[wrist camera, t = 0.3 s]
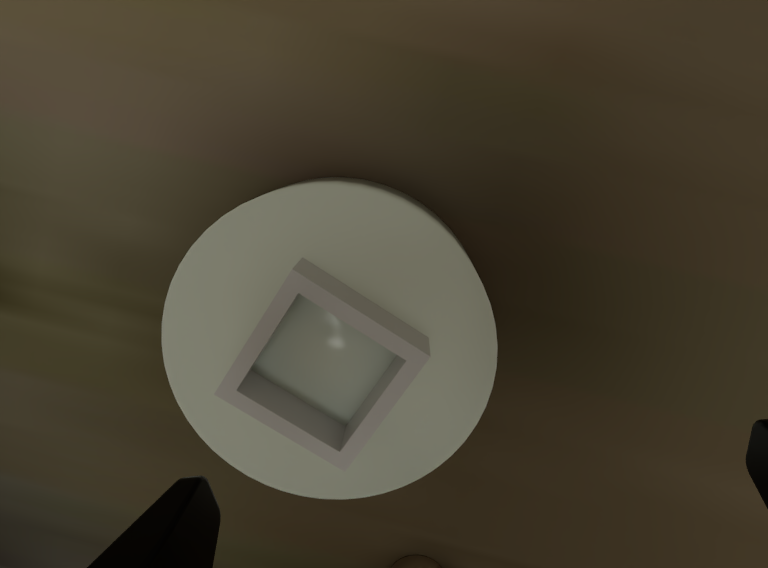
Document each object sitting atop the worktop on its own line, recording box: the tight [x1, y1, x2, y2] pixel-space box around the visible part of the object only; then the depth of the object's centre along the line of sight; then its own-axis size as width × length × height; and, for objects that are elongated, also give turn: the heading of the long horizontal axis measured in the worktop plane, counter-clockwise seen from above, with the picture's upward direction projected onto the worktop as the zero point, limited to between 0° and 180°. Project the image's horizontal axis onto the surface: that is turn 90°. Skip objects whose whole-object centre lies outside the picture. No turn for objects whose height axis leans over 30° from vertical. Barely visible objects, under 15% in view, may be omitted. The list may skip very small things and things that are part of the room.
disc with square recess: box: [162, 177, 498, 499], centre depth 21 cm, size 13×13×6 cm
